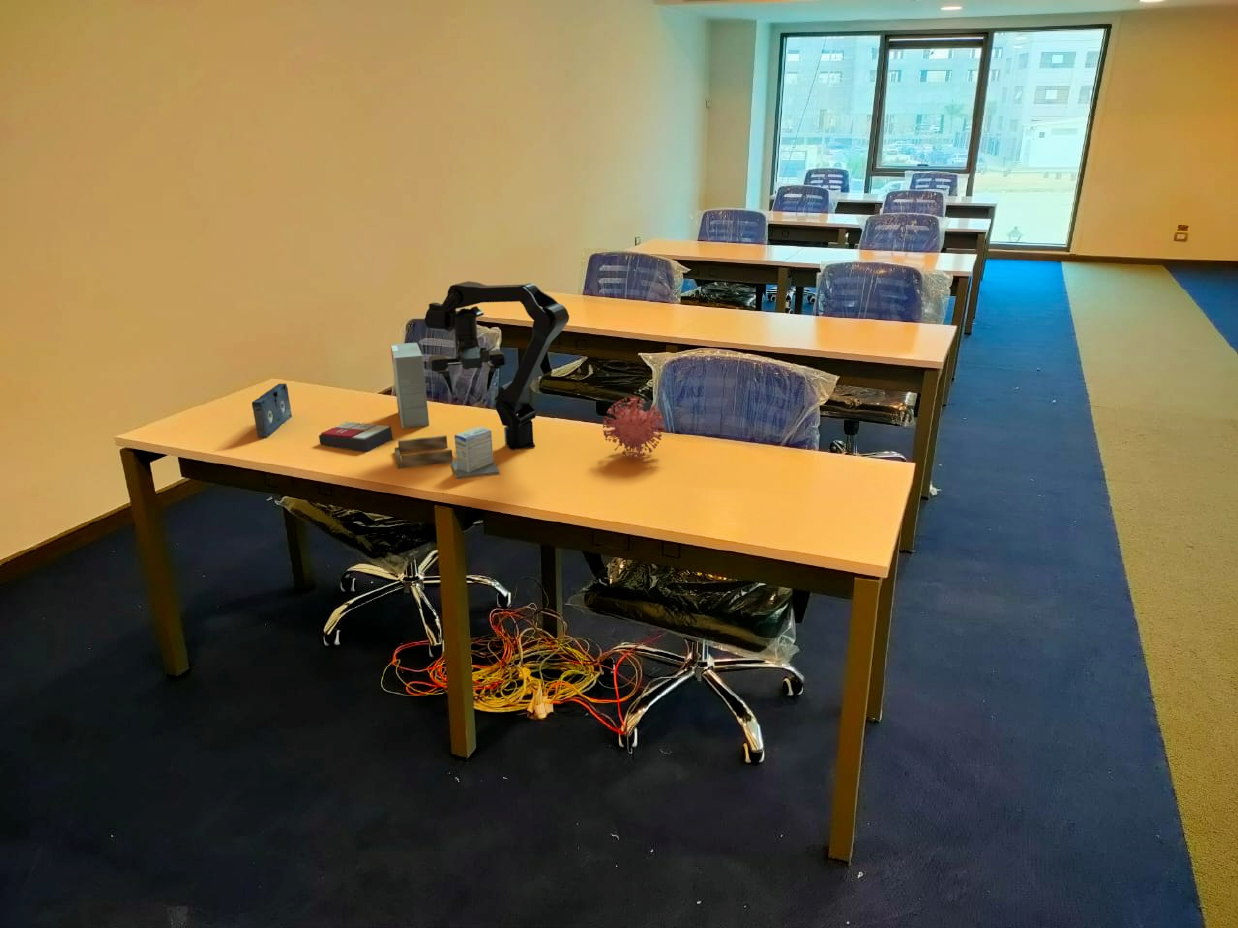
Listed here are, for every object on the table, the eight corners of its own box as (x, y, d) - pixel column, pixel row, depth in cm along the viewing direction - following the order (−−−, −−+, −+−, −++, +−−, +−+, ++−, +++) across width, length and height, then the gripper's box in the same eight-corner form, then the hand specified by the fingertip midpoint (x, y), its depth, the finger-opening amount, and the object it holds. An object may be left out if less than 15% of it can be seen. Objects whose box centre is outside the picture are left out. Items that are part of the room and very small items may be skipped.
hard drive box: (397, 412, 247) (390, 344, 240) (424, 409, 249) (418, 342, 242) (401, 428, 233) (393, 357, 226) (430, 425, 235) (423, 354, 228)
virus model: (591, 456, 212) (589, 398, 206) (633, 441, 222) (632, 386, 216) (634, 471, 202) (634, 411, 197) (676, 455, 212) (677, 397, 206)
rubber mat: (492, 459, 211) (492, 457, 210) (499, 473, 202) (499, 471, 202) (451, 464, 208) (451, 461, 208) (456, 478, 199) (456, 476, 199)
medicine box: (481, 459, 209) (478, 425, 206) (494, 463, 206) (491, 429, 203) (456, 469, 203) (453, 434, 200) (469, 473, 200) (466, 438, 197)
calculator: (346, 420, 230) (391, 424, 224) (348, 435, 231) (393, 439, 225) (317, 432, 221) (363, 437, 215) (320, 448, 222) (366, 453, 216)
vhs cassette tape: (283, 416, 244) (278, 383, 241) (294, 417, 244) (288, 383, 241) (255, 438, 227) (249, 402, 224) (266, 438, 227) (260, 402, 223)
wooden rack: (447, 446, 220) (446, 435, 219) (452, 462, 209) (451, 450, 208) (395, 452, 216) (393, 440, 215) (398, 468, 205) (396, 456, 204)
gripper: (433, 343, 206) (438, 405, 211) (509, 337, 212) (512, 398, 217) (426, 333, 215) (431, 393, 221) (499, 328, 221) (502, 386, 227)
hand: (469, 392), depth 221 cm, fingers open, 9 cm apart
